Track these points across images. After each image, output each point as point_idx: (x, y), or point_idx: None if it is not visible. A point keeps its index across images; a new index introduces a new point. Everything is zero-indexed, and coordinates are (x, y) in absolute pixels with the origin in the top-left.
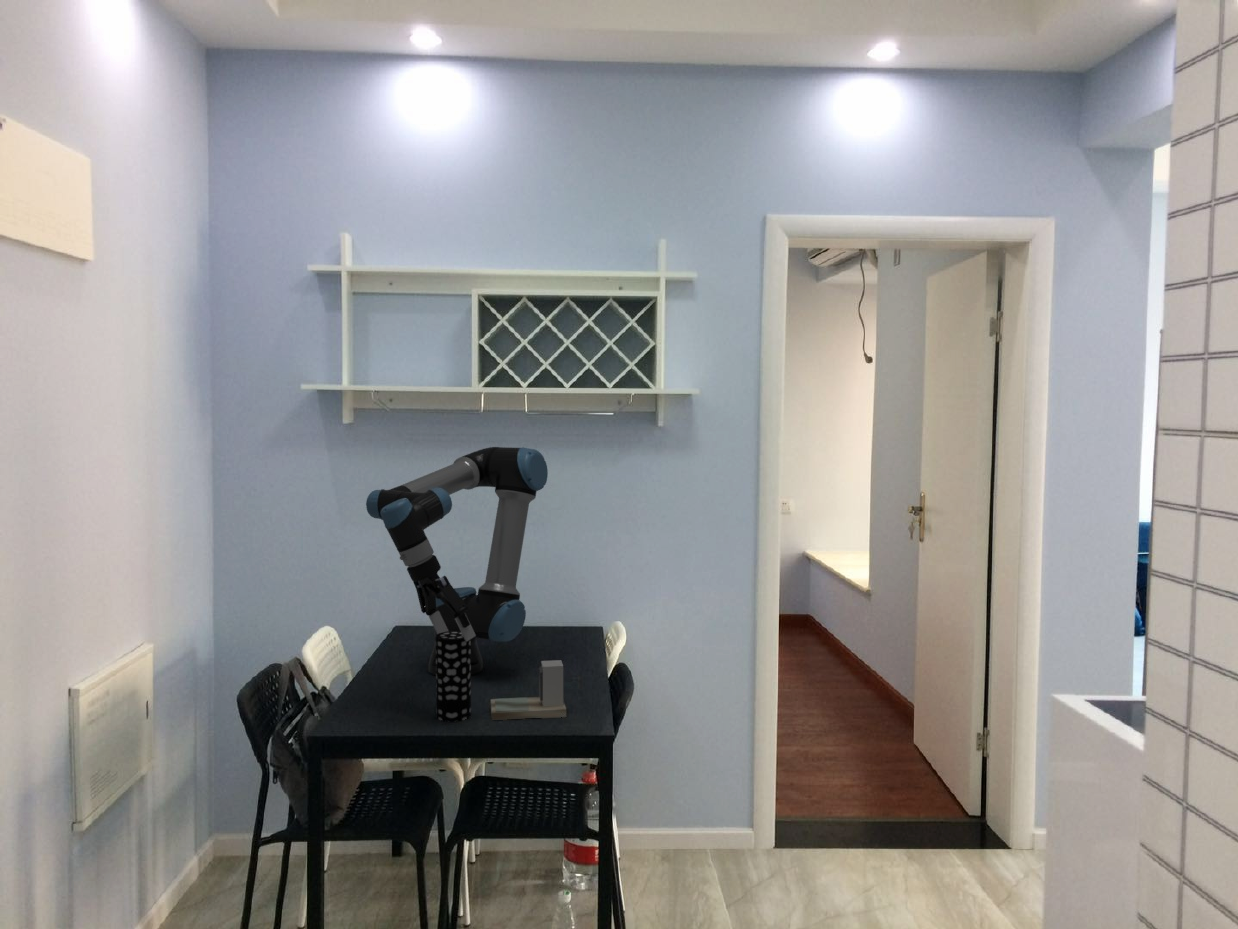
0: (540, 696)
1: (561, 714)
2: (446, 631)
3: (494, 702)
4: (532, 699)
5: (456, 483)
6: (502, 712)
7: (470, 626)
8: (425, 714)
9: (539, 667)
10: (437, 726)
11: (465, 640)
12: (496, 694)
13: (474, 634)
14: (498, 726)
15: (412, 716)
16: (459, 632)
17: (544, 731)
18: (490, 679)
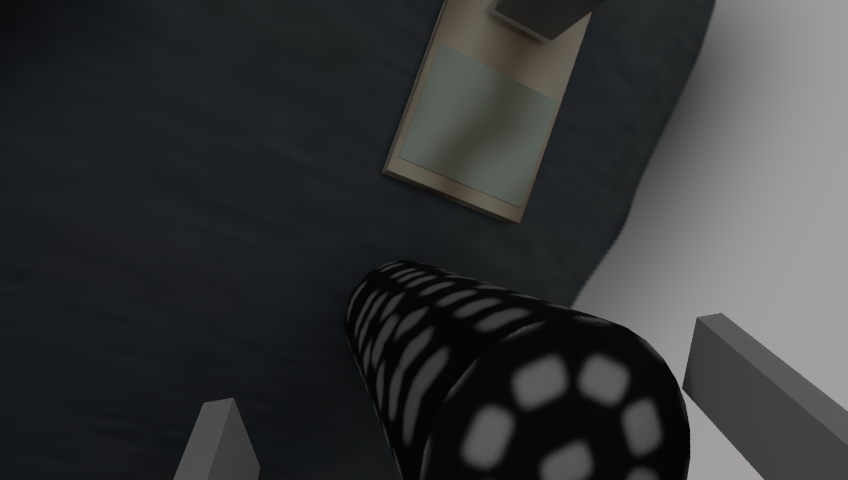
0: (560, 33)
1: None
2: (229, 441)
3: (427, 171)
4: (462, 33)
5: None
6: (531, 188)
7: (802, 386)
8: (340, 406)
9: None
10: None
11: (694, 394)
12: (246, 89)
13: (732, 328)
14: (554, 221)
15: (338, 453)
16: (507, 393)
17: (644, 120)
18: (3, 10)
